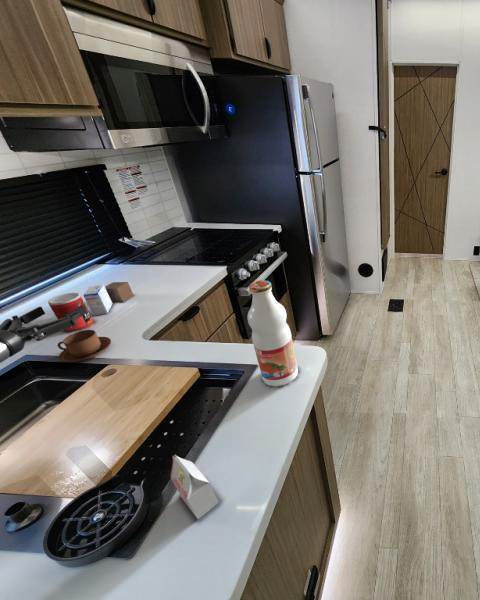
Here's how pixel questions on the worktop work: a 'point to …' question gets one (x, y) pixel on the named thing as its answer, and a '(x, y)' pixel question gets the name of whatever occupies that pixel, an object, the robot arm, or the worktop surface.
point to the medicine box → (98, 300)
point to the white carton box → (193, 487)
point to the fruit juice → (271, 336)
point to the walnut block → (119, 291)
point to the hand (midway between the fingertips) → (63, 309)
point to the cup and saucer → (83, 346)
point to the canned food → (70, 309)
